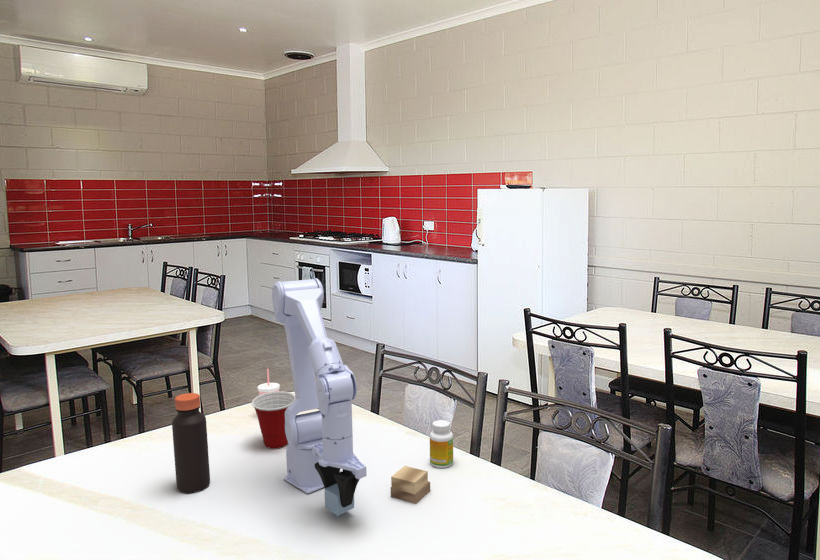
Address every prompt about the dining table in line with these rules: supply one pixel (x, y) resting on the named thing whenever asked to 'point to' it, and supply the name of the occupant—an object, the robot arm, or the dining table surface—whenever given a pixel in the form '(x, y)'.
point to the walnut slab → (411, 497)
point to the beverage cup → (268, 386)
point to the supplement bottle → (441, 444)
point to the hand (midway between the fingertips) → (339, 500)
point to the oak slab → (409, 479)
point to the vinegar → (190, 445)
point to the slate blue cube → (335, 501)
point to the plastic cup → (273, 417)
